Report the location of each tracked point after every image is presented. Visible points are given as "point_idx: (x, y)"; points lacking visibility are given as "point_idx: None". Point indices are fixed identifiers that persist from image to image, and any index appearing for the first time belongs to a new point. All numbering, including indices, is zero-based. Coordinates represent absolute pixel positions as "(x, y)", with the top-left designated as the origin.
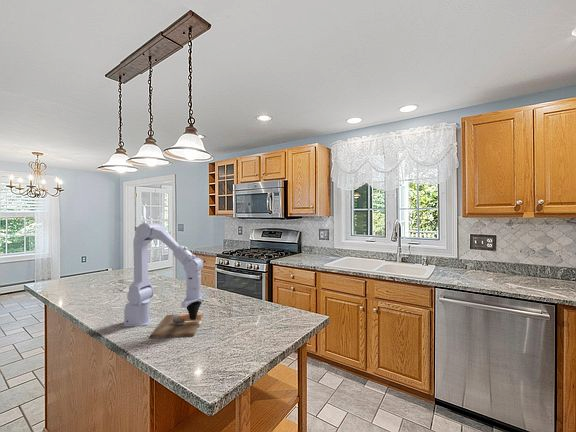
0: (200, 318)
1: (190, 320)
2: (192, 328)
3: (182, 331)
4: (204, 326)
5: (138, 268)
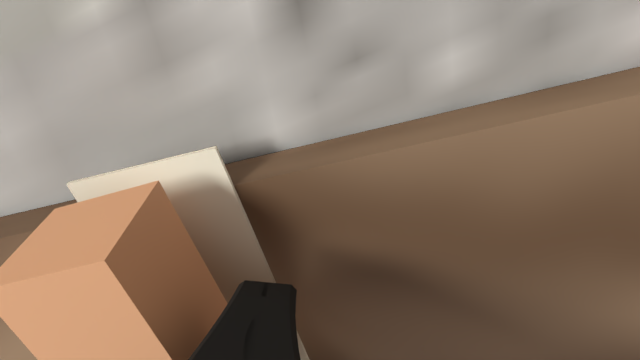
0: (146, 212)
1: None
2: (461, 194)
3: (596, 288)
4: (176, 61)
5: None
